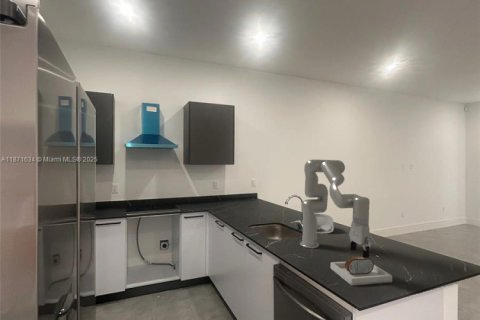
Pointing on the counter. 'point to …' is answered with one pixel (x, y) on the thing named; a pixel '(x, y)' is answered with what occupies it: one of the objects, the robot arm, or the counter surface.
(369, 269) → the tin
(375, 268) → the white tray
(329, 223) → the bowl
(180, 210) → the counter surface
